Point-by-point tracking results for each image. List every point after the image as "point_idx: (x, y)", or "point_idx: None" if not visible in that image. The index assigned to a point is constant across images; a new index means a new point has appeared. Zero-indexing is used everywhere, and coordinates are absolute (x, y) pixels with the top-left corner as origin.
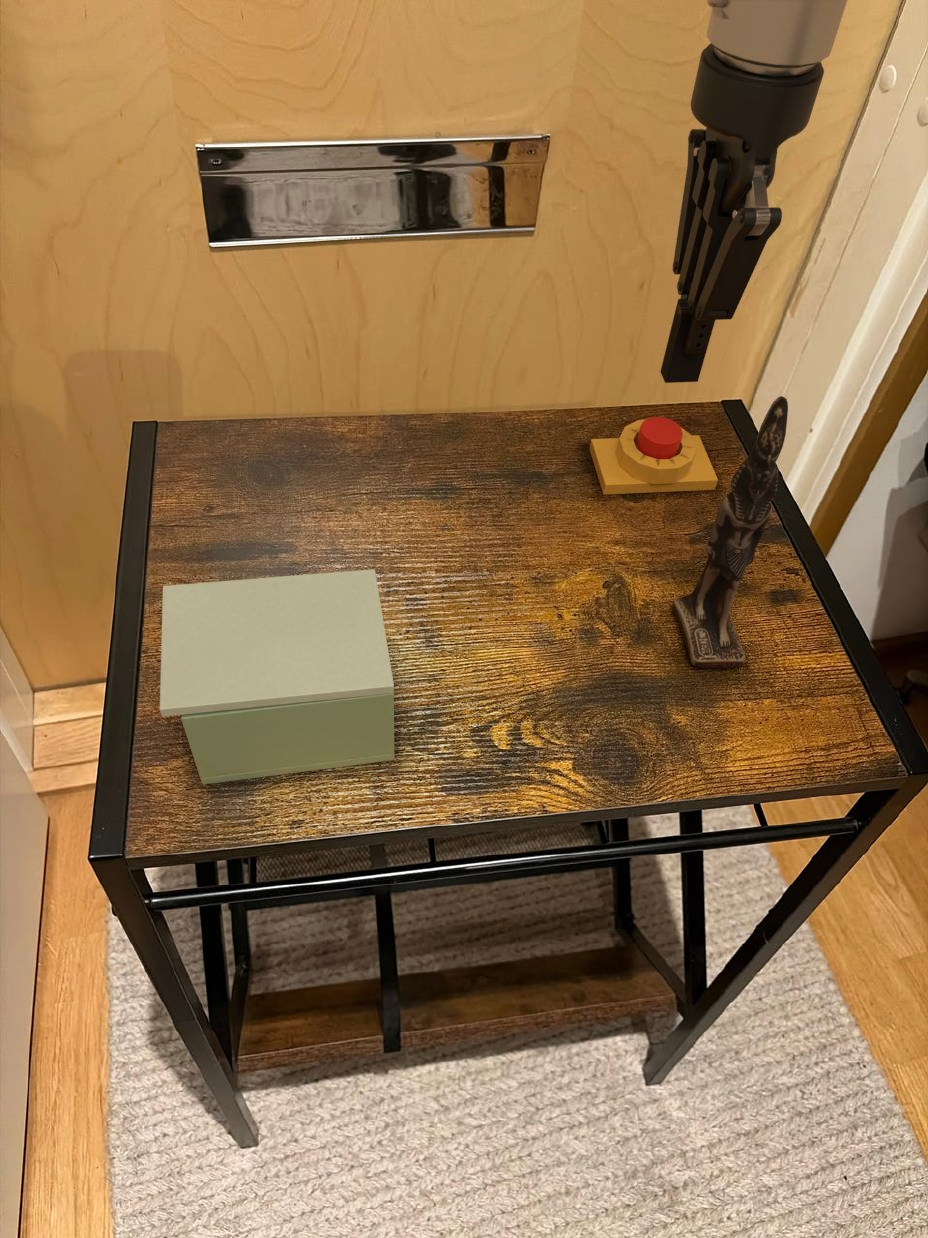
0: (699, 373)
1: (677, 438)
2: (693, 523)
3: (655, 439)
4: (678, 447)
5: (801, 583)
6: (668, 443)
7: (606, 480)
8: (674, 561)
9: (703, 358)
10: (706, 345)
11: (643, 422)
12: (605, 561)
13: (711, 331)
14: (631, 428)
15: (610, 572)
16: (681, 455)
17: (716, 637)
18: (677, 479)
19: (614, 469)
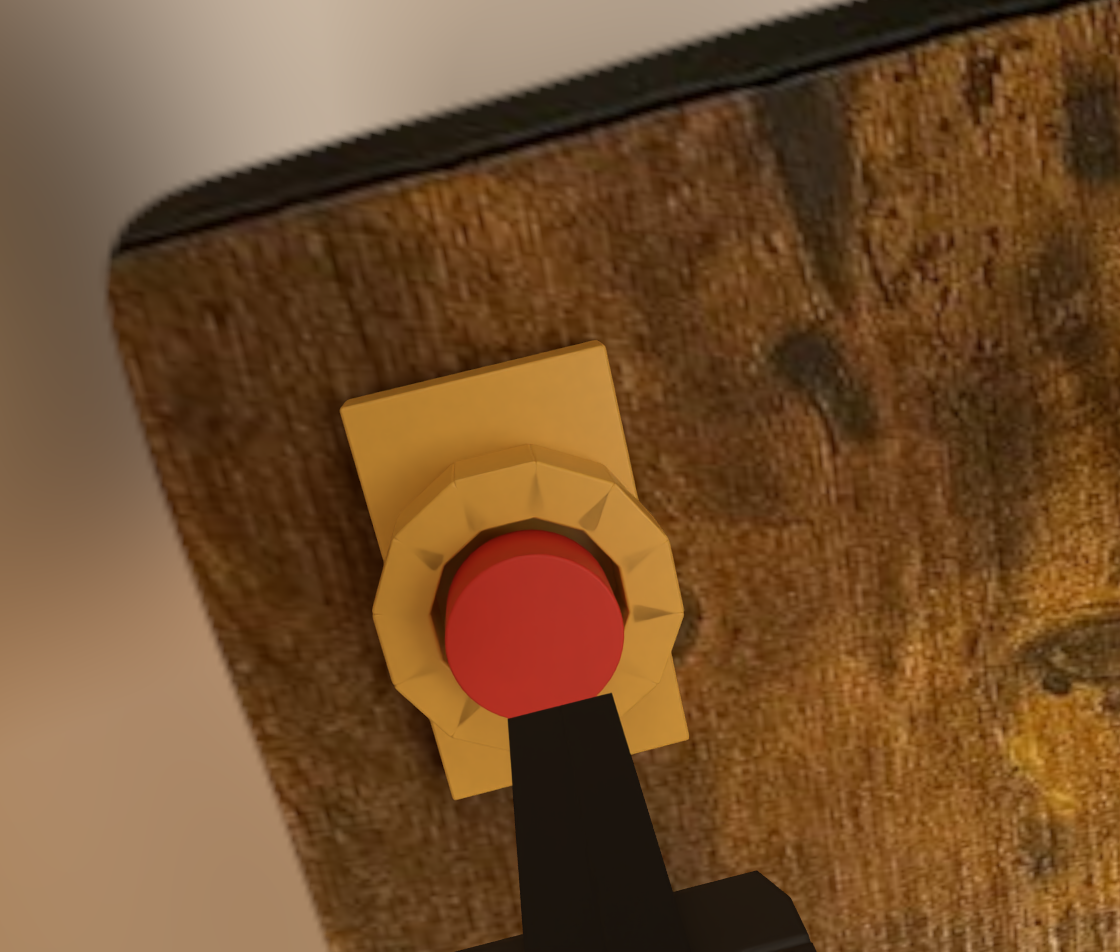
0: (619, 722)
1: (579, 576)
2: (778, 423)
3: (599, 662)
4: (566, 544)
5: (1035, 53)
6: (619, 612)
7: (670, 739)
8: (955, 489)
9: (639, 784)
10: (799, 918)
11: (499, 712)
12: (966, 692)
13: (679, 925)
14: (460, 715)
15: (1009, 676)
16: (591, 524)
17: None
18: (642, 505)
19: None
